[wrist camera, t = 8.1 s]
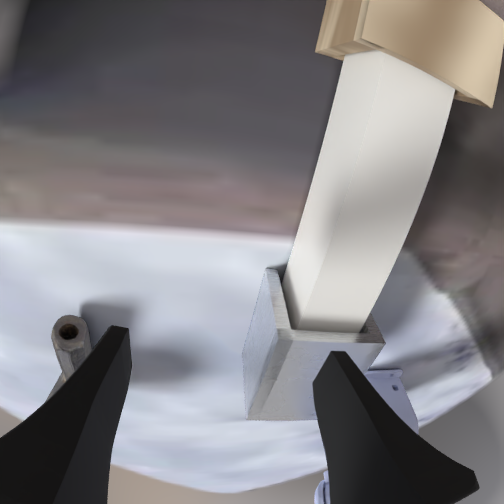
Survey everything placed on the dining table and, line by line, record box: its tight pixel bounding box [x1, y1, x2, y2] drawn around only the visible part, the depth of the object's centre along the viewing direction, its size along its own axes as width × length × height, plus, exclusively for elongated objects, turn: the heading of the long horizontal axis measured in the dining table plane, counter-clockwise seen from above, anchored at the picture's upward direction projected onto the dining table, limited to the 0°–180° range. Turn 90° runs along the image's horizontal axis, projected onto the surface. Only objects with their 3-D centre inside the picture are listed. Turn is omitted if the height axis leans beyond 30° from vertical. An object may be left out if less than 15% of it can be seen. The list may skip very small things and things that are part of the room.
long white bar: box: [281, 50, 455, 333], centre depth 15 cm, size 4×17×5 cm, turn 169°
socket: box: [315, 0, 504, 108], centre depth 11 cm, size 7×5×6 cm
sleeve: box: [242, 268, 386, 421], centre depth 21 cm, size 7×9×6 cm
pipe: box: [45, 315, 92, 402], centre depth 22 cm, size 6×13×8 cm, turn 164°
